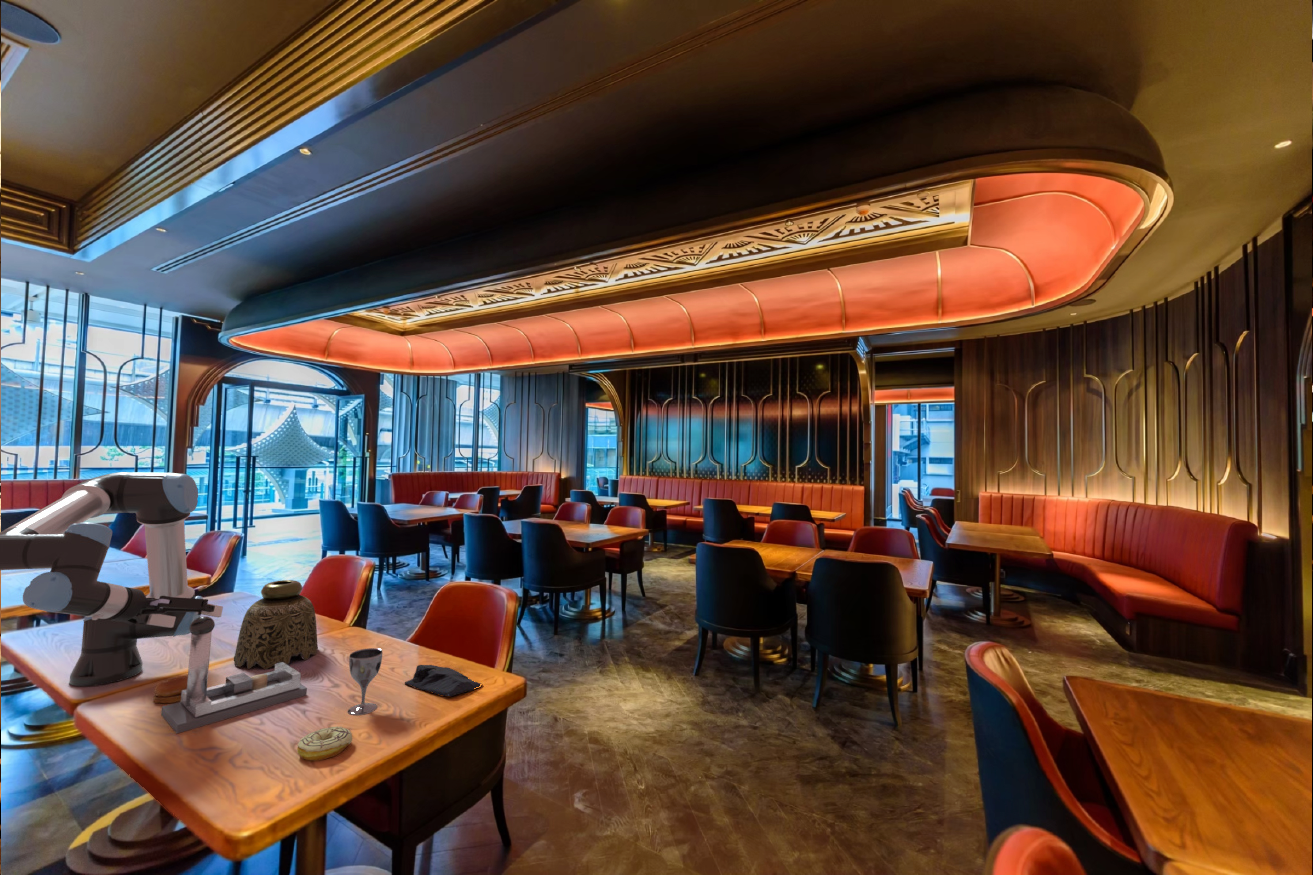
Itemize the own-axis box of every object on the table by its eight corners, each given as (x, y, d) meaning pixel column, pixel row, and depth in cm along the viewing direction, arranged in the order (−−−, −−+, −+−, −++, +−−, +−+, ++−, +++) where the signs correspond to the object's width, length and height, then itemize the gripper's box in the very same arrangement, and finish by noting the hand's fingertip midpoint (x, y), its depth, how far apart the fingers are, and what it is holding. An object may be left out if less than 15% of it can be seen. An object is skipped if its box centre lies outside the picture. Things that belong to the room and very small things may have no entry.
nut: (246, 691, 146) (247, 677, 146) (263, 687, 149) (264, 672, 149) (251, 695, 143) (252, 681, 144) (268, 691, 147) (269, 676, 147)
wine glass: (341, 717, 137) (345, 659, 138) (350, 703, 145) (354, 649, 146) (374, 714, 139) (378, 657, 140) (382, 701, 147) (385, 647, 148)
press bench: (161, 714, 135) (161, 706, 135) (285, 680, 158) (286, 674, 158) (176, 733, 127) (177, 725, 127) (306, 695, 149) (306, 687, 149)
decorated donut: (361, 745, 125) (362, 729, 125) (317, 768, 115) (319, 750, 115) (331, 735, 129) (332, 719, 129) (286, 756, 119) (288, 739, 119)
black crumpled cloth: (442, 705, 147) (443, 688, 148) (400, 684, 160) (401, 668, 160) (487, 687, 160) (488, 671, 160) (445, 669, 172) (446, 655, 173)
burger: (187, 702, 142) (188, 685, 143) (144, 707, 139) (146, 689, 140) (205, 688, 152) (206, 671, 152) (165, 691, 149) (166, 675, 149)
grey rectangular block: (224, 695, 143) (226, 677, 143) (242, 690, 146) (243, 672, 146) (233, 703, 139) (234, 683, 139) (251, 698, 142) (252, 679, 142)
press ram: (175, 703, 137) (183, 613, 138) (281, 675, 156) (287, 597, 158) (189, 718, 129) (198, 623, 131) (299, 687, 149) (305, 605, 150)
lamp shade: (293, 640, 192) (298, 572, 194) (332, 652, 182) (337, 580, 184) (218, 661, 171) (224, 584, 173) (257, 675, 161) (263, 594, 163)
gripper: (58, 630, 120) (149, 640, 139) (159, 608, 119) (237, 622, 138) (70, 597, 124) (157, 612, 142) (168, 575, 123) (243, 593, 141)
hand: (197, 617), depth 140 cm, fingers open, 13 cm apart
